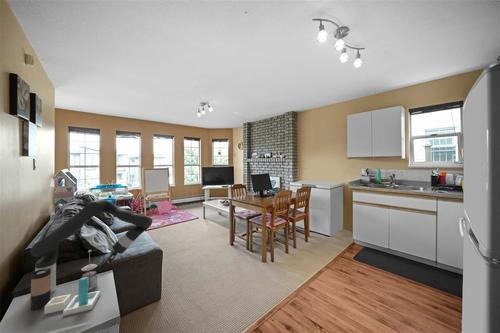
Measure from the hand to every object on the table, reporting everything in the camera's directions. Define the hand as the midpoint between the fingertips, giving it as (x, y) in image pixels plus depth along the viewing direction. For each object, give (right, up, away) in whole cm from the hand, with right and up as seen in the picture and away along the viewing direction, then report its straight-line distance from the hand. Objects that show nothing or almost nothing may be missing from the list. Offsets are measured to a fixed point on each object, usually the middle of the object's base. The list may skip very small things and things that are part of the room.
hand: (100, 267), depth 114 cm
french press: (-17, -21, +12) cm, 29 cm away
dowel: (-7, -19, -4) cm, 20 cm away
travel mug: (-30, -21, -5) cm, 37 cm away
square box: (-19, -20, -6) cm, 28 cm away
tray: (-6, -20, -4) cm, 21 cm away
